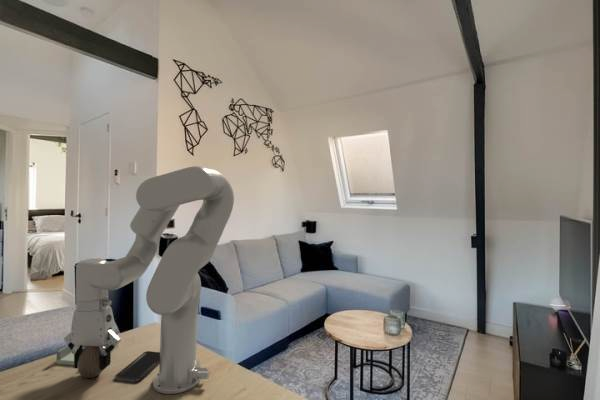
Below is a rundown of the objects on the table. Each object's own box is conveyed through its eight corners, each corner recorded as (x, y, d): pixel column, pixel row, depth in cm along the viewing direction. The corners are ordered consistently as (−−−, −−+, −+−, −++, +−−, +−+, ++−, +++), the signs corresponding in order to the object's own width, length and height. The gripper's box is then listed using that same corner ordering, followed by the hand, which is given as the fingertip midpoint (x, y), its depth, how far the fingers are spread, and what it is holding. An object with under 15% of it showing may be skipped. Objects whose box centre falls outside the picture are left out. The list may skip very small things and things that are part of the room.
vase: (92, 383, 85) (92, 350, 85) (71, 379, 86) (71, 347, 86) (112, 369, 92) (112, 339, 91) (92, 365, 93) (92, 336, 93)
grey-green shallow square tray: (117, 346, 105) (118, 335, 105) (91, 366, 93) (92, 354, 93) (86, 344, 106) (86, 333, 106) (56, 363, 94) (56, 351, 94)
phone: (112, 377, 87) (146, 350, 102) (112, 381, 87) (145, 354, 102) (139, 380, 86) (168, 353, 101) (139, 384, 86) (168, 356, 101)
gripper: (130, 300, 92) (130, 361, 92) (73, 298, 93) (73, 357, 93) (113, 310, 84) (113, 376, 85) (51, 307, 85) (51, 372, 86)
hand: (92, 366), depth 89 cm, fingers closed on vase, 6 cm apart
